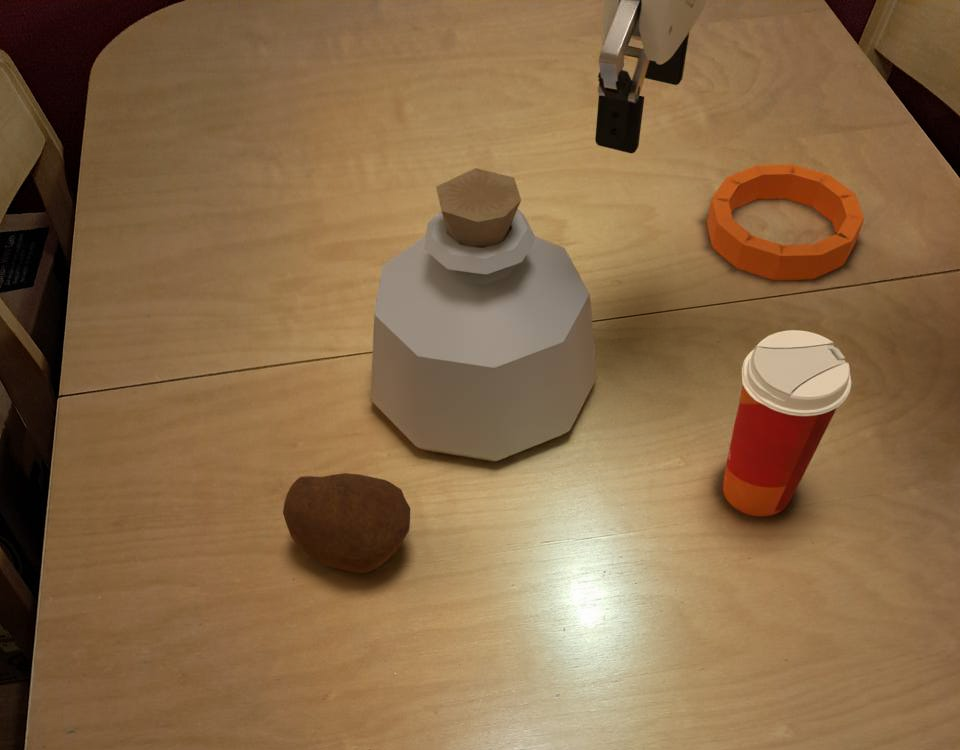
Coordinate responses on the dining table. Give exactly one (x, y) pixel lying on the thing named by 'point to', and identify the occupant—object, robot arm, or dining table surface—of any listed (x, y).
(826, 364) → the paper cup
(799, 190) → the ring
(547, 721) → the dining table surface
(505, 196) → the bottle
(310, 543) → the potato
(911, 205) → the dining table surface
